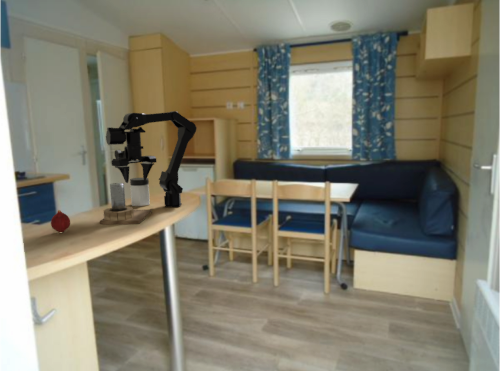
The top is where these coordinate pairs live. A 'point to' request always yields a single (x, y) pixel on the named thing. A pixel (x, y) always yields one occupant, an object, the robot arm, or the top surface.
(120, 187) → the chrome metal cylinder
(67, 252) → the top surface
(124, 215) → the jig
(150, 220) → the top surface
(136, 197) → the jar
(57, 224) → the pomegranate
